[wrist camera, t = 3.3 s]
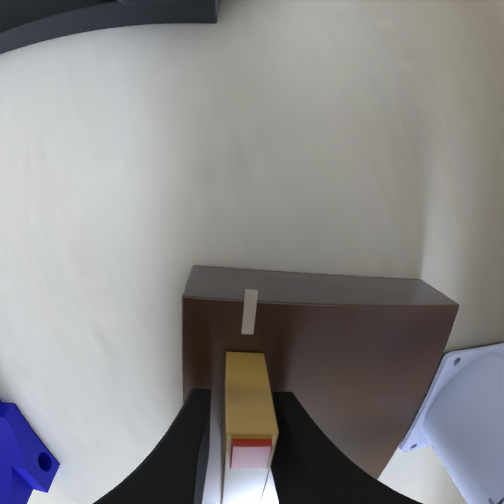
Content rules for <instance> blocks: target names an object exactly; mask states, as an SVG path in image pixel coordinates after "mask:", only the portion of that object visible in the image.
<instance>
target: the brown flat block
mask: <svg viewBox="0 0 504 504" xmlns="http://www.w3.org/2000/svg"><path fill="white" fill-rule="evenodd" d="M458 308H459V304H457V303H456V302H454V301H453V300H451V299H450V298H448V297H447V296H445V295H444V294H442V293H441V292H439V291H438V290H436V289H435V288H433V287H432V286H430V285H429V284H427V283H426V282H424V281H423V280H419V279H398V278H378V277H359V276H342V275H324V274H308V273H292V272H277V271H262V270H248V269H233V268H220V267H206V266H193V268H192V271H191V273H190V276H189V279H188V281H187V284H186V287H185V290H184V292H183V295H182V380H183V404H184V402H185V400H186V398H187V396H188V393H189V390H190V389H192V388H200V389H211V416H210V446H209V459H208V466H207V472H206V479H205V486H204V492H203V499H202V504H220V447H221V424H222V407H223V390H224V375H225V359H226V352H246V353H264V356H265V362H266V367H267V372H268V378H269V383H270V388H271V394H272V399H273V393H274V392H292V393H293V394H294V395H295V396H296V398H297V399H298V400H299V402H300V403H301V405H302V406H303V407H304V409H305V410H306V412H307V413H308V414H309V415H310V417H311V418H312V419H313V421H314V422H315V423H316V424H317V425H318V427H319V428H320V429H321V430H322V431H323V432H324V434H325V435H326V436H327V437H328V438H329V439H330V440H331V441H332V442H333V443H334V444H335V445H336V446H337V447H338V448H339V449H340V450H341V451H342V452H343V453H344V454H345V455H346V456H347V457H348V458H349V459H350V460H351V461H352V462H354V463H355V464H356V465H357V466H359V467H360V468H361V469H362V470H364V471H365V472H366V473H368V474H369V475H370V476H372V477H373V478H375V479H376V480H377V479H378V478H379V476H380V475H381V473H382V471H383V470H384V468H385V467H386V465H387V464H388V462H389V460H390V459H391V457H392V456H393V454H394V452H395V451H396V449H397V447H398V446H399V444H400V442H401V440H402V439H403V437H404V435H405V433H406V431H407V430H408V428H409V426H410V424H411V422H412V420H413V418H414V416H415V414H416V412H417V410H418V408H419V406H420V404H421V402H422V400H423V398H424V396H425V394H426V392H427V390H428V387H429V385H430V383H431V381H432V378H433V376H434V374H435V371H436V369H437V367H438V364H439V362H440V359H441V357H442V354H443V351H444V349H445V346H446V344H447V341H448V338H449V335H450V332H451V330H452V327H453V324H454V321H455V318H456V314H457V311H458ZM261 504H279V502H278V498H277V493H276V489H275V485H274V480H273V476H272V471H271V467H270V471H269V475H268V478H267V482H266V486H265V489H264V493H263V497H262V500H261Z"/></svg>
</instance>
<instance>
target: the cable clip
mask: <svg viewBox="0 0 504 504" xmlns="http://www.w3.org/2000/svg"><path fill="white" fill-rule="evenodd" d="M59 465H60V464H59V462H58V461H57V460H56V459H55V458H54V457H53V455H52V454H51V453H50V452H49V450H48V449H47V448H46V447H45V445H44V444H43V443H42V442H41V440H40V439H39V438H38V436H37V435H36V434H35V432H34V431H33V430H32V428H31V427H30V426H29V424H28V423H27V421H26V420H25V418H24V417H23V416H22V414H21V413H20V411H19V410H18V408H17V407H16V405H15V404H11V403H2V402H1V401H0V504H27V502H28V500H29V497H30V495H31V493H32V491H33V489H35V490H39V491H42V492H46V493H48V490H49V488H50V486H51V483H52V481H53V479H54V477H55V474H56V472H57V470H58V468H59Z"/></svg>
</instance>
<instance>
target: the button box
mask: <svg viewBox="0 0 504 504" xmlns="http://www.w3.org/2000/svg"><path fill="white" fill-rule="evenodd" d="M220 1H221V0H0V54H2V53H4V52H7V51H10V50H13V49H17V48H20V47H23V46H26V45H30V44H33V43H37V42H41V41H45V40H49V39H53V38H57V37H61V36H66V35H71V34H76V33H81V32H87V31H93V30H99V29H106V28H113V27H122V26H131V25H143V24H159V23H217V18H218V12H219V6H220Z"/></svg>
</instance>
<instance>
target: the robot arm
mask: <svg viewBox="0 0 504 504" xmlns="http://www.w3.org/2000/svg"><path fill="white" fill-rule="evenodd" d="M273 404H274V410H275V415H276V420H277V426H278V431H279V435H278V439H277V443H276V447H275V451H274V455H273V459H272V463H271V471H272V476H273V480H274V485H275V489H276V493H277V498H278V502H279V504H422V503H420V502H417V501H415V500H413V499H410V498H408V497H406V496H404V495H402V494H400V493H398V492H396V491H394V490H393V489H391V488H389V487H388V486H386V485H384V484H383V483H381V482H380V481H378V480H376V479H375V478H373V477H372V476H370V475H369V474H368V473H366V472H365V471H364V470H362V469H361V468H360V467H359V466H357V465H356V464H355V463H354V462H352V461H351V460H350V459H349V458H348V457H347V456H346V455H345V454H344V453H343V452H342V451H341V450H340V449H339V448H338V447H337V446H336V445H335V444H334V443H333V442H332V441H331V440H330V439H329V438H328V437H327V436H326V435H325V434H324V432H323V431H322V430H321V429H320V428H319V427H318V425H317V424H316V423H315V422H314V421H313V419H312V418H311V417H310V415H309V414H308V413H307V412H306V410H305V409H304V407H303V406H302V405H301V403H300V402H299V400H298V399H297V398H296V396H295V395H294V394H293V393H292V392H274V393H273ZM210 416H211V389H200V388H192V389H190V390H189V393H188V396H187V398H186V400H185V402H184V404H183V406H182V408H181V410H180V412H179V413H178V415H177V417H176V418H175V420H174V421H173V423H172V425H171V426H170V428H169V429H168V431H167V432H166V434H165V435H164V436H163V438H162V439H161V440H160V442H159V443H158V444H157V445H156V447H155V448H154V449H153V451H152V452H151V453H150V454H149V455H148V456H147V457H146V459H145V460H144V461H143V462H142V463H141V464H140V465H139V466H138V467H137V468H136V469H135V470H134V471H133V472H132V473H131V474H130V475H129V476H128V477H127V478H125V479H124V480H123V481H122V482H121V483H120V484H119V485H117V486H116V487H115V488H114V489H112V490H111V491H110V492H108V493H107V494H106V495H104V496H103V497H101V498H100V499H99V500H97V501H96V502H94V503H93V504H202V499H203V492H204V486H205V479H206V472H207V466H208V459H209V446H210ZM429 445H431V446H432V448H433V449H434V451H435V452H436V454H437V455H438V457H439V459H440V460H441V462H442V463H443V465H444V466H445V468H446V470H447V471H448V473H449V474H450V476H451V478H452V479H453V481H454V482H455V484H456V486H457V487H458V489H459V490H460V492H461V494H462V495H463V497H464V499H465V500H466V502H467V504H504V343H501V344H495V345H490V346H484V347H478V348H472V349H466V350H459V351H452V352H449V353H447V354H446V355H445V356H444V357H443V359H442V361H441V363H440V366H439V368H438V370H437V373H436V375H435V377H434V380H433V382H432V384H431V386H430V389H429V391H428V393H427V395H426V397H425V399H424V401H423V403H422V405H421V407H420V409H419V411H418V413H417V415H416V417H415V419H414V421H413V423H412V425H411V427H410V429H409V430H408V432H407V434H406V436H405V438H404V439H403V441H402V443H401V445H400V447H399V448H400V450H401V452H407V451H411V450H415V449H419V448H422V447H426V446H429Z"/></svg>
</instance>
